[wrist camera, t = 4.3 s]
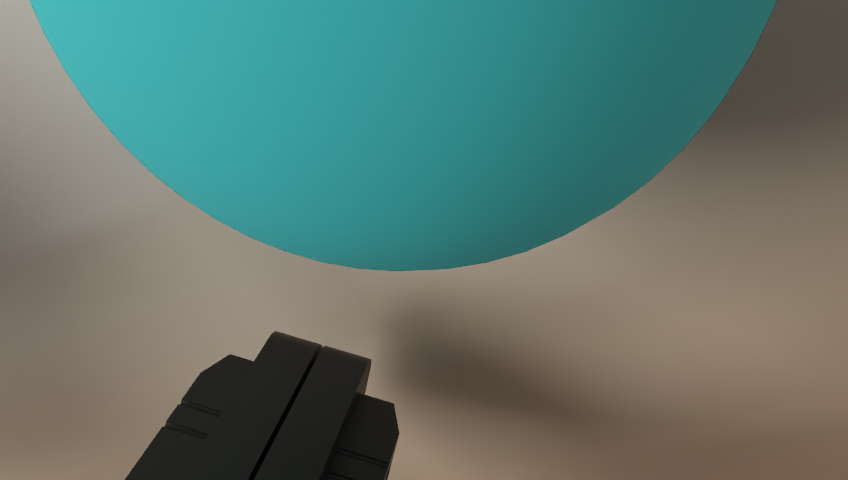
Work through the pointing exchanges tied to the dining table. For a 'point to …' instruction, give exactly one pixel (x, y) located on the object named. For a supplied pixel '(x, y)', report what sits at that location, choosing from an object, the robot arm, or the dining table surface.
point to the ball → (404, 111)
